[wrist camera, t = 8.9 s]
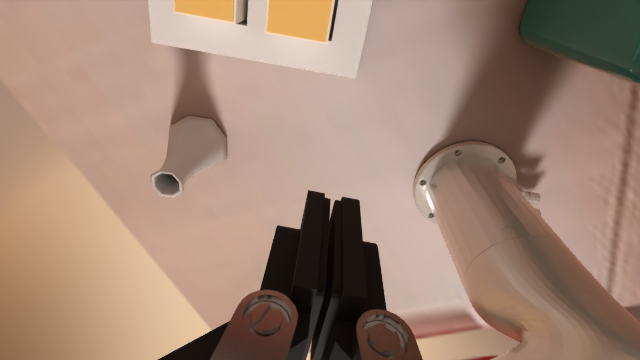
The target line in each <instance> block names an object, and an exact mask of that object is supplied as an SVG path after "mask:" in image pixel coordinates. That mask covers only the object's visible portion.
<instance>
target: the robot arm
mask: <svg viewBox="0 0 640 360" xmlns="http://www.w3.org/2000/svg"><path fill="white" fill-rule="evenodd" d="M456 150H457V151H456ZM516 180H517V176H516V169H515V167H514V164H513V162H512V161H511V160H510V158H509V157H508V156H507V155H506V154H505V153H504V152H503V151H502V150H500V149H499V148H497V147H496V146H494V145H491V144H488V143H484V142H478V141H468V142H462V143H457V144H454V145H451V146H448V147H446V148H444V149H442V150H440V151H438V152H437V153H435V154H434V155H433V156H431V157H430V158H429V159H428V160H427V161H426V162H425V163H424V164H423V166H422V167H421V169H420V170H419V172H418V174H417V176H416V178H415V181H414V187H413V195H414V199H415V202H416V205H417V207H418V209H419V211H420V212H421V213H422V215H423V216H424V217H426V218H427V219H428V220H430V221H431V222H433V223H435V224H438V226H439V229H440V231H441V234H442V236H443V238H444V241H445V243H446V246H447V248H448V250H449V253H450V255H451V258H452V260H453V262H454V265H455V267H456V270H457V272H458V274H459V277H460V279H461V282H462V284H463V286H464V289H465V291H466V293H467V296H468V298H469V300H470V302H471V304H472V306H473V308H474V309H475V311H476V312H477V313H478V315H479V316H480V317H481V318H482V319H483V320H484V321H485V322H486V323H487V324H489V325H490V326H492V327H493V328H494V329H496V330H497V331H499V332H501V333H503V334H504V335H506V336H508V337H510V338H512V339H514V340H516V341H518V342H520V344H518V345H517V346H516V347H514V348H512V349H510V350H508V351H506V352H504V353H502V354H501V355H500V356H498V357H495V358H493V359H491V360H640V322H639V321H638V320H637V319H635V318H634V317H633V316H632V315H631V314H630V313H629V312H628V311H627V310H626V309H625V308H624V307H623V306H622V305H621V304H620V303H618V302H617V301H616V300H615V299H614V298H613V297H612V296H611V295H610V294H609V293H608V292H607V291H606V290H605V288H604V287H603V286H602V285H601V284H600V283H599V282H598V281H597V280H596V279H595V278H594V277H593V275H592V274H591V273H590V272H589V271H588V270H587V269H586V268H585V267H584V266H583V265H582V263H581V262H580V261H579V260H578V259H577V258H576V256H575V255H574V254H573V253H572V252H571V251H570V249H569V248H568V247H567V246H566V245H565V244H564V243H563V241H562V240H561V239H560V238H559V237H558V236H557V234H556V233H555V232H554V231H553V230H552V229H551V227H550V226H549V225H548V224H547V223H546V222H545V220H544V219H543V218H542V217H541V212H540V210H538V209H536V208H533V206H532V205H531V204H530V203H532V204H538V203H539V201H540V195H539V194H538V193H534V192H524V191H523V190H522V189H521V187H520V186H519V185H518V184H517V183H516ZM329 218H330V221H329ZM311 340H312V345H311V357H310V358H311V359H310V360H423V359H422V356H421V354H420V351H419V348H418V345H417V342H416V340H415V337H414V335H413V333H412V331H411V329H410V327H409V326H408V325H407V324H406V323H405V321H404V320H403V319H401V318H400V317H398V316H397V315H396V314H393V313H391V312H389V311H387V310H386V303H385V296H384V289H383V281H382V274H381V267H380V259H379V252H378V247H377V244H375V243H370V242H364V241H363V239H362V226H361V214H360V202H359V200H356V199H351V198H346V197H342V199H341V201H338V200H335V202H334V206H333V209H332V213H331V217H330V199H328V198H325V193H320V192H315V191H309V190H308V194H307V199H306V204H305V209H304V214H303V219H302V223H301V228H300V229H294V228H289V227H284V226H277V228H276V232H275V236H274V239H273V243H272V247H271V251H270V255H269V258H268V262H267V266H266V270H265V273H264V277H263V281H262V285H261V289H260V290H259V291H256V292H253V293H250V294H249V295H248V296H246V297H245V298H243V300H242V301H241V302H240V304H239V305H238V307H237V309H236V310H235V312H234V314H233V316H232V318H231V320H230V321H229V322H227V323H225V324H223V325H221V326H220V327H218V328H216V329H214V330H212V331H210V332H208V333H207V334H205V335H203V336H201V337H199V338H197V339H195V340H194V341H192V342H190V343H188V344H186V345H184V346H182V347H181V348H179V349H177V350H175V351H173V352H171V353H169V354H168V355H166V356H164V357H162V358H160V359H158V360H306V357H307V354H308V351H309V347H310V344H311Z"/></svg>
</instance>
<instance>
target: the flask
mask: <svg viewBox="0 0 640 360" xmlns="http://www.w3.org/2000/svg"><path fill="white" fill-rule="evenodd" d="M225 159H227V138H226V137H225V135H224V134H223V133H222V131H221V130H220V129H219V127H218V126H217V125H216V123H215V122H214V121H213V119H209V118H202V117H195V116H186V117H185V118H183V119H181V120H180V121H178V122H176V123H174V124H173V125H171V126H170V129H169V141H168V149H167V156H166V159H165V162H164V164H163V166H162V168H161V169H160V170H159V171H157V172H155V173H153V174H151V183H152V187H153V188H154V189H155V190H156V191H157V192H158V193H159V195H160V196H167V197H175V196H177V195H179V194H181V193H182V192H183V191H184V187H183V186H184V184H185V183H186V181H187V180H189V179H190V178H191V177H192V176H193V175H195V174H196V173H199V172H201V171H204V170H206V169H208V168H210V167H212V166H214V165H216V164H218V163H220V162H222V161H223V160H225Z"/></svg>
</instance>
